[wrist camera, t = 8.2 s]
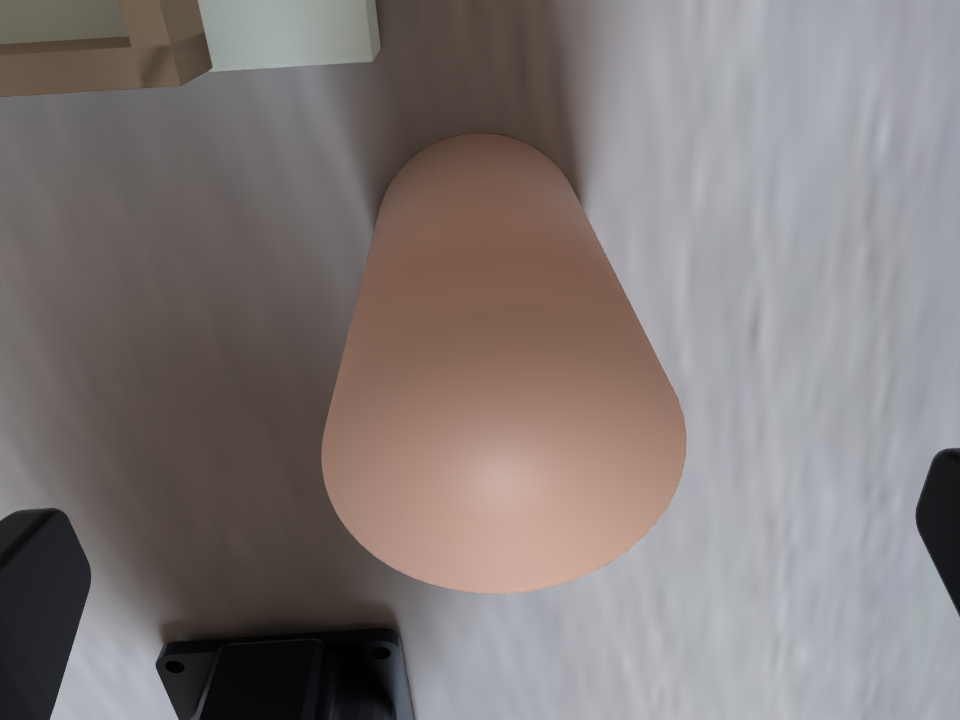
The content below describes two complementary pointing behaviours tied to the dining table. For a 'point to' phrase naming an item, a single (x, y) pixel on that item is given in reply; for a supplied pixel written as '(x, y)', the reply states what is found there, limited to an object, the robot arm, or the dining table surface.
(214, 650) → the robot arm
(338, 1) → the board
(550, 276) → the tan brown cylinder
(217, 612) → the dining table surface
